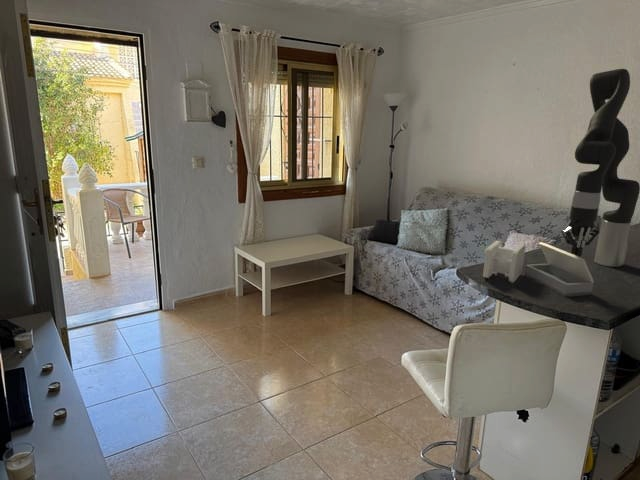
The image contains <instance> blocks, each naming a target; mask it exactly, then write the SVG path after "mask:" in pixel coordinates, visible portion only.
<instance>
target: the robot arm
mask: <svg viewBox="0 0 640 480" xmlns="http://www.w3.org/2000/svg"><path fill="white" fill-rule="evenodd" d="M630 87H631V77H630V71H628V70H627V69H626V68H617V69H611V70H607V71H606V70H605V71H602V72H598V73H594V74H592V76H591V77H590V80H589V93H590V97H591V102H592V106H593V112H594V113H593V115H592V116H591V118H590V121H589V124H588V128H587V131H586V134H585V135H584V136H583V138H582V139H581V140H580V142H579V143H578V145H576V148H575V151H574V159H575V161H577V162H578V163H579V164H583V165H584V164H585V165H596V166H597V165H598V167H597V168H596V169H594V170H591V171H588V170H587V171H581V172H579V173H578V175H577V179H576V183H575V188H574V189H575V190H574V194H573V197H572V201H571V208H570V212H569V213H570V214H569V219H570V222H569V224H568V227H567V228H566V229H561V235H562V237H563V238H564V240H565V242H566V244H567V245H570V246H571V250H570V251H571V252H570V253H571V254H574V255H576V256H579V257H582V254H583V249H584V247H585V246H589V245H590V244H591V243H592V242H593V241H594V240H595V238H596V237H597V236H598V240H597V245H596V249H595V255H594V260H593V262H594V263H596V264H598V265H602V266H605V267H612V268H613V267H614V268H615V267H616V268H618V267H622V266H624V265H625V261H626V260H625V259H626V254H627V252H628V251H627V250H628V246H629V241H628V236H629V232H630V226H631V222H632V219H633V216H634V213H635V209H636V206H637V202H638V199H639V195H640V184H639V183H640V182H638V181H636V180H633V179H625V178H619V176H618V167H619V165H620V164H621V162H622V161H623V160H624V158H625V157H626V156H627V154H628V153H629V150H630V136H629V130H628V128H627V126H626V125H625V124H624V123H623V122H622V121H621V120H620V119H619V118H618V115H619V114H620V111H621V110H622V107H623V105H624V104H625V103H624V102H625V101H626V99H627V97H628V94H629V91H630ZM601 192H602V196H603V199H604V200H605V201H606V202H609V203H615V204H619V207H618V208H617V209H614V210H607V211H604V213H603V214H602V220H601V224H600V229H597V228H595V222H596V221H597V218H598V215H599V208H600V203H601Z"/></svg>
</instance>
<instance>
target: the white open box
mask: <svg viewBox="0 0 640 480" xmlns="http://www.w3.org/2000/svg"><path fill="white" fill-rule="evenodd" d="M523 276H525V277H527V278H528V279H530V280H531V281H534V282H535V283H538V284H539V283H540V284H539V285H541V284H542V286H543V285H544V286H543V287H545V286H546V287H545V288H547V287H548V288H547V289H549V288H550V290H551V291H553V292H555V293H557V294H559V295H561V296H562V295H563V297H564V296H565V298H566V297H576V296H577V297H579V296H590V295H591V296H592V292H593V287H594V282H593V283H591V282H589V281H586V280H584V279H582V278H580V277H577V276H575V275H573V274H571V273H568V272H566V271H564V270H562V269H560V268H557V267H555V266H553V265H551V264H548V263H536V264H535V263H534V264H532V263H531V264H525V265H524V274H523Z"/></svg>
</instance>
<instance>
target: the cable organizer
mask: <svg viewBox="0 0 640 480" xmlns="http://www.w3.org/2000/svg"><path fill="white" fill-rule="evenodd" d="M502 246H503V243H502V241H501V240H495V241H493V243H491V244H490V245H488V246H487V247H486V248H485V250H484V255H485V257H484V263H483V265H484V266H483V272H482V276H483V277H484V278H486V279H489V278H490V277H491V276H493V274H494V275H495V276H497V274H502V275H504V277H508V281H509V282H510V283H511V284H514V283H515V282H516V281H517V279H518V278H519V277H520V276H521V274H522V272H523V266H524V261H525V254H526V253H525V252H526V244H523V243H520V244H519V245H517V247H516V248H509V247H508V248H507V247H502Z"/></svg>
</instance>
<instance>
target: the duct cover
mask: <svg viewBox="0 0 640 480" xmlns="http://www.w3.org/2000/svg"><path fill="white" fill-rule="evenodd" d="M538 245H539V247H540V249H541V251H542V253H543V256H544V258H545V259H546V262H547V264H551V265H553V266H555V267H557V268H560V269H562V270H564V271H566V272H568V273H571V274H573V275H575V276H577V277H580V278H582V279H584V280H586V281H589V282H591V283H593V284H594V282H595V281H594V278H593V276H592V274H591V272H590V269H589V267H588V264H587V262H586V260H585V258H583V257H582V256H580V257H579V256H576V255H574V254H571V252H569V251H566V250H563V249H561V248H558V247H555V246H553V245H550V244H549V243H548V244H547V243H546V242H541V241H540V242H538Z"/></svg>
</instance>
